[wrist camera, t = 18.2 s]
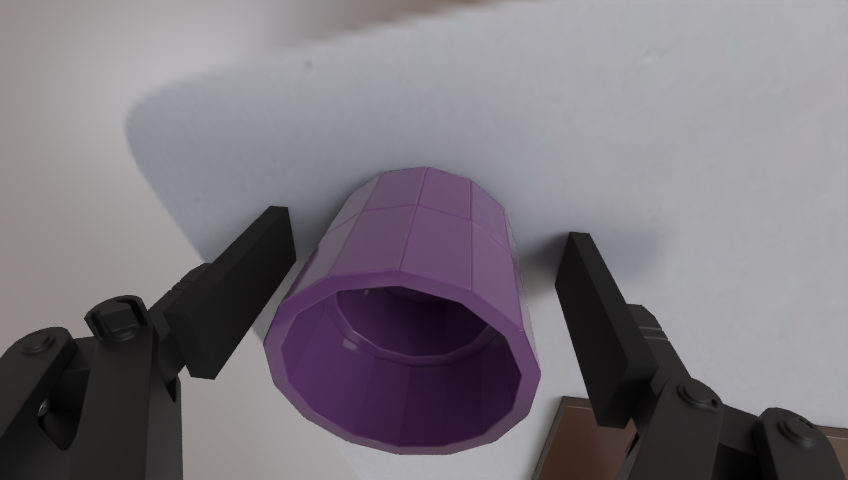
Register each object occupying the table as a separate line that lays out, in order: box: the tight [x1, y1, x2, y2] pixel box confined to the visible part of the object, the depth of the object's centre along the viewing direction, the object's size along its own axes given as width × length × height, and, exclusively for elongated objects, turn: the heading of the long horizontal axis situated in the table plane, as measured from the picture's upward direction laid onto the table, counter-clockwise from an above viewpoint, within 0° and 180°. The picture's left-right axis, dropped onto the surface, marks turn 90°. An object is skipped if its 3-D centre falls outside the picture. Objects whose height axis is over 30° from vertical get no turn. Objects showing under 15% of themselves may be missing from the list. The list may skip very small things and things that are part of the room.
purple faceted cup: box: [263, 167, 541, 455], centre depth 13 cm, size 7×8×7 cm
